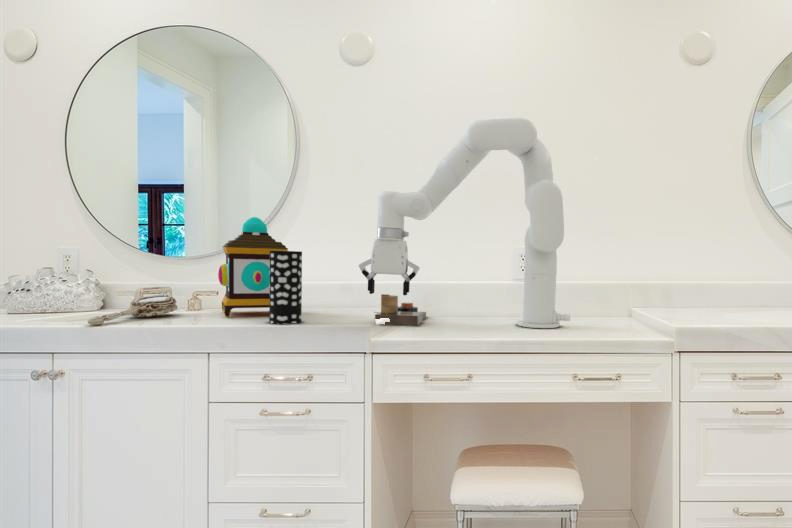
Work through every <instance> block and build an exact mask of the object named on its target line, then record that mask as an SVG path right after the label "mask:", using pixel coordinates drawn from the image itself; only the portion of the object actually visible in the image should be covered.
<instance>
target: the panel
mask: <svg viewBox="0 0 792 528" xmlns="http://www.w3.org/2000/svg"><path fill="white" fill-rule="evenodd" d="M423 312H424V311H418V312H401V311H398V313H395V314H385V313H381V311H380V312H379V311H373V313H374V320H375V319H380V318H389V319H390V322H385V325H384V326H396V327H397V326H398V327H400V326H401V327H418V326H420V325H421V324H422V323H423V320H422V316H423Z"/></svg>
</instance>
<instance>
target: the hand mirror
mask: <svg viewBox="0 0 792 528" xmlns="http://www.w3.org/2000/svg"><path fill="white" fill-rule="evenodd" d="M178 306H179V305H178V304H177V300H176V299H175V297H173V296H172V295H170V294H169V295H165V294H155V295H147V296H142V297H137V298H136V299H134V300H132V301H131V302H130V305H129V308H127V309H125V310H121V311H120V312H112V313H109V314H103V315H101V316H99V315H97V316H93V317H91V318H89V319H87V324H88V325H90V326H101V325H103V324H104V323H105V322H110V321H114V320H116V319H118V318H120V317H126V316H133V317H136V318H145V319H146V318H153V317H157V316H161V315H164V314H168V313H172V312H174V311H176V310H177V309H178V308H179V307H178Z"/></svg>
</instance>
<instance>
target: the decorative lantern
mask: <svg viewBox="0 0 792 528" xmlns="http://www.w3.org/2000/svg"><path fill="white" fill-rule="evenodd" d="M222 251H223V252H224V254H225V263H223V264H221V265H220V266H219V268H218V273H217V276H218V278H217V279H218V282H219V284H220V285H221V286H223V287H225V288H226V289H225V294H224V295H223V297H222V300H221V310H222V312H223V313H224V316H225V317H226V318H231V312H232V310H233V309H255V308H256V309H261V308H263V309H264V308H267V309H268V308H269V302H270V251H289V248H287V247H286V245H285V244H283V242H281V241H276V239H275V238H273V237H272V236H271V235H269V232H268V227H267V224H266V223H265V222H264V220H262V219H260V218H259V217H256V216H253V217H252V216H251V217H250V218H248V219H247V220H246V221H245V222H244V223H243V224H242V227H241V234H239V235H238V236H237V237H234V239H232V240H228V241H227V242H226V243H224V245H223V246H222Z"/></svg>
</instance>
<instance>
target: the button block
mask: <svg viewBox="0 0 792 528" xmlns="http://www.w3.org/2000/svg"><path fill="white" fill-rule="evenodd" d="M398 311H401V312H419V308H418V306H413V308H401V305H400V306H399V305H398ZM422 312H423V316H422V321H424V320H425V319H426V318H427V311H422Z"/></svg>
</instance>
